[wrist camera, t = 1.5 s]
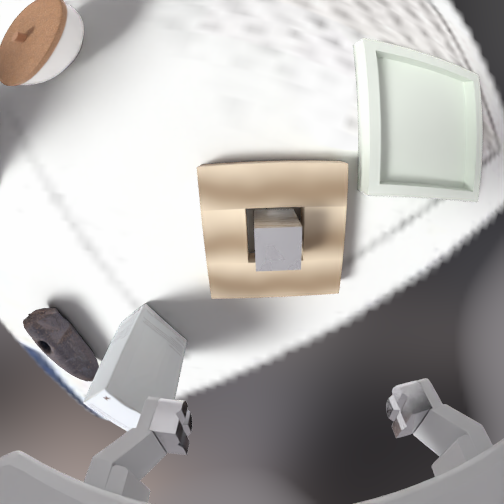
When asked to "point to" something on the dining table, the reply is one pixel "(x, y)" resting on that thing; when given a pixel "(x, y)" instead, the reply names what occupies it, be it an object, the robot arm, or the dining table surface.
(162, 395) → the skincare box
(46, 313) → the perforated stone tool
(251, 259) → the socket block
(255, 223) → the pin
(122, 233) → the dining table surface
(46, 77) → the lidded jar
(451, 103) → the tray
